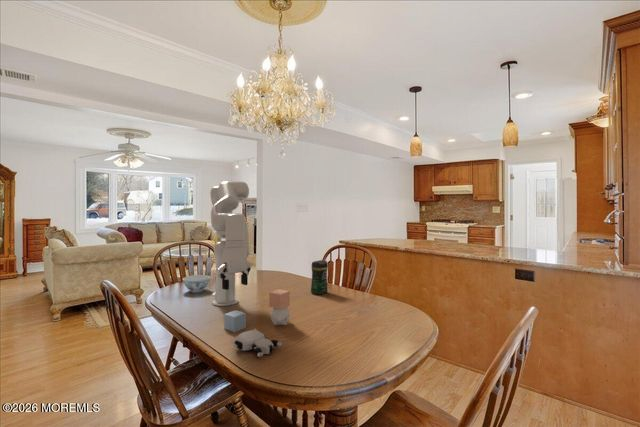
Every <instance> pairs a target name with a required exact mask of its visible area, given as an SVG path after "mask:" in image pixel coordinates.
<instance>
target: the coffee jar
mask: <svg viewBox="0 0 640 427" xmlns="http://www.w3.org/2000/svg"><path fill="white" fill-rule="evenodd" d="M310 267H311V285H310V292H311V293H312V294H313V295H323V294H327V293H328V268H329V264H328V261H327V260H322V259H320V260H315V261H312V263H311V266H310Z"/></svg>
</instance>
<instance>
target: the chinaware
mask: <svg viewBox="0 0 640 427" xmlns="http://www.w3.org/2000/svg"><path fill="white" fill-rule="evenodd" d="M210 282H211V275H207V274H197V275H196V274H192V275H188V276H185V277H183V278H182V283H183V285H184V286H185V288H186V289H187V290H189V291H190V292H191V293H196V294H197V293H200V292H203V291H204V289H205V288H207V287H208V285H209V284H210Z"/></svg>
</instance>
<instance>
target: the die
mask: <svg viewBox="0 0 640 427" xmlns="http://www.w3.org/2000/svg"><path fill="white" fill-rule="evenodd" d="M269 316H270V318H271V321H272V324H273V326H287V324H288V322H289V320H290V318H291V313H290V309H289V307H288V306H287V307H284V308H282V309H278V308H273V307H272V309H271V311H270V313H269Z"/></svg>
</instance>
